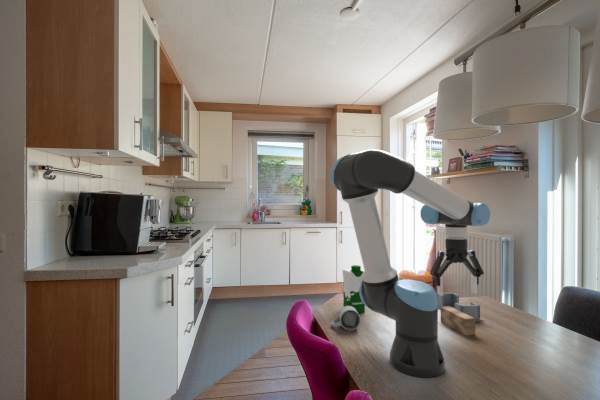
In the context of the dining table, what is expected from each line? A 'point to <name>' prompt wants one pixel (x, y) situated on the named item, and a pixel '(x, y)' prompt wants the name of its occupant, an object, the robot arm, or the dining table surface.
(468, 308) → the endcap holder
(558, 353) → the dining table surface
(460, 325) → the wooden block
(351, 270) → the milk carton
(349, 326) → the ceramic mug
